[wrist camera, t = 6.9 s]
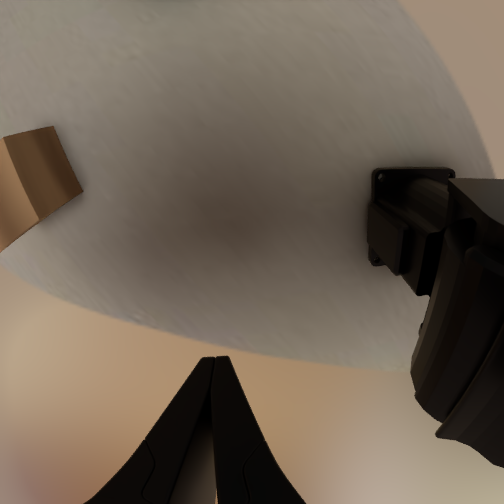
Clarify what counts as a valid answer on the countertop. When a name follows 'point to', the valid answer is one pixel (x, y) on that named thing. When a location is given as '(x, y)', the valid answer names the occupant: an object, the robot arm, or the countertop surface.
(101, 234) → the countertop surface
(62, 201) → the walnut cube
